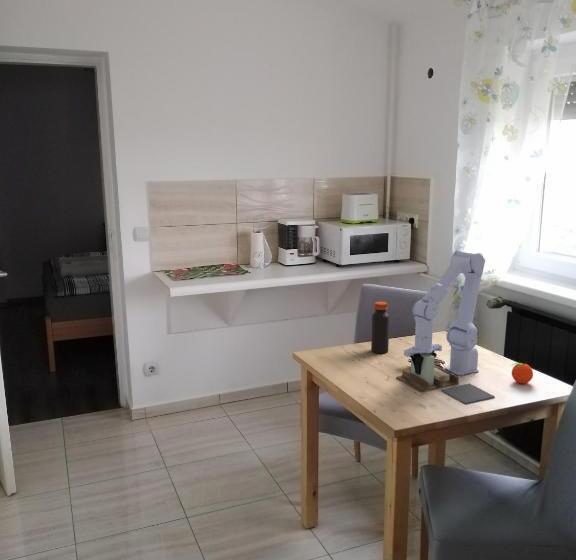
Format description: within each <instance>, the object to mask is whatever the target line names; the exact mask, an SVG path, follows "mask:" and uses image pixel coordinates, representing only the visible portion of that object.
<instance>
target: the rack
mask: <svg viewBox="0 0 576 560" xmlns="http://www.w3.org/2000/svg"><path fill="white" fill-rule="evenodd" d="M434 368H437V369H439V370H441V371H443V372H445V373H447V374H449V375H450V380H448V381H444V382H443V380H441V379H439V378H437V377H435V376H434V384H433V385H429V383H428V382H426V381H424V380H423V379H421V378H419V377H417V376H416V375H414V374H412V373H411V371H408V370H407V369H402V370H401V371H402V373H401V375H397V376H396V379H397V380H399V381H400V382H402V383H404V384H406V385H408V386H410V387H411V388H412V389H414V390H416V391H418V392H419V393H424V392H428V391H433V390H437V389H444V388H449V387H453V386H458V385H459V382H460V381H459V379H460V377H459V375H457V374H455V373H453V372H451V371H449V370H447V369H445V368H442V367H440V366H438V365H435V364H434Z"/></svg>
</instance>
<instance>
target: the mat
mask: <svg viewBox="0 0 576 560" xmlns="http://www.w3.org/2000/svg"><path fill="white" fill-rule="evenodd" d="M440 389H441V390H440V391H441V392H443V393H444V394H446V395H448V396H450V397H452V398H454V399H455V400H457V401H459V402H460V403H462V404H464V405H469V404H473V403H478V402H481V401H486V400H491V399H495V398H496V397H495V395H494V394H491V393H490V392H488V391H485V390H483V389H481V388H479V387H477V386H475V385H474V384H471V383H465V384H460V385H454V386H449V387H445V388H440Z"/></svg>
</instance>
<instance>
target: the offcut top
mask: <svg viewBox="0 0 576 560" xmlns="http://www.w3.org/2000/svg"><path fill="white" fill-rule="evenodd" d="M434 376H435V377H437V378H439V379H445V378H450V375H449V374H447V373H445V372H443V371H441V370H439V369H437V368H434Z"/></svg>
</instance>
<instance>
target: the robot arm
mask: <svg viewBox="0 0 576 560" xmlns="http://www.w3.org/2000/svg"><path fill="white" fill-rule="evenodd" d="M449 261H450V262H449V263H450V264H449V265H448V267H447V269H446V270H445V272H444V274H443V275H442V276H441V278H440V280H439V281H438V282H437V283H433V284H432V285H431V286H430V287H429V289H428V291H426V293H425V295H424V296H423V297H422V299H419V300H418V301H416V302H415V303H414V304H413V308H412V309H411V311H412V312H411V313H412V314H413V315H414V321H415V329H414V330H415V331H414V332H415V333H414V336H415V337H414V346H412V347H410V348H409V347H408V348H406V349H404V350H403V356H405V357H409V358H410V360H411V359H412V362H413V365H414V368H415V373H416V374H418V375H420V374H421V366H422V361H423V359H424V358H423V357H421V355H420V354H422V353H428V354H430V355H433V356H435V359H436V358H437V352H438V351H439V352H442V349H443V345H442V344H440V343H437V344H433V327H434V319H435V318H436V317H437V315H438V311H439V307H440V304H441V303H442V302H443V300H444V299H445V297H446V296H447V295H448V288H449V287H450V286H451V284H452V283H453V282H454V281H455V280H456V279H457V278H458V277H459V276H460V274H463V276H464V277H465V279H464V283H463V288H462V293H461V298H460V302H459V308H458V312H457V318H456V320H454V321H452V322H451V323H450V325H449V327H448V330H447V332H446V334H445V335H446V336H445V337H446V341H447V342H448V344H449V346H450V353H449V354H450V358H449V366H445V367H444V370H446V371H448V372H450V373H452V374H454V375H456V376H462V375H467V374H471V373H476V372H479V371H480V370H479V369H478V363H479V362H478V361H479V352H478V349H477V348H476V345H477V343H478V329H477V327H476V326H475V324H474V323H473V321H474V315H475V311H476V305H477V302H478V301H477V300H478V296H479V290H480V286H481V281H482V277H483V273H484V267H485V263H486V259H485V258H484V255H483V254H482V253H481V252H474V251H467V250H462V249H457V250H455V251H454V252H453V254H452V255H451V256H450V259H449Z"/></svg>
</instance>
